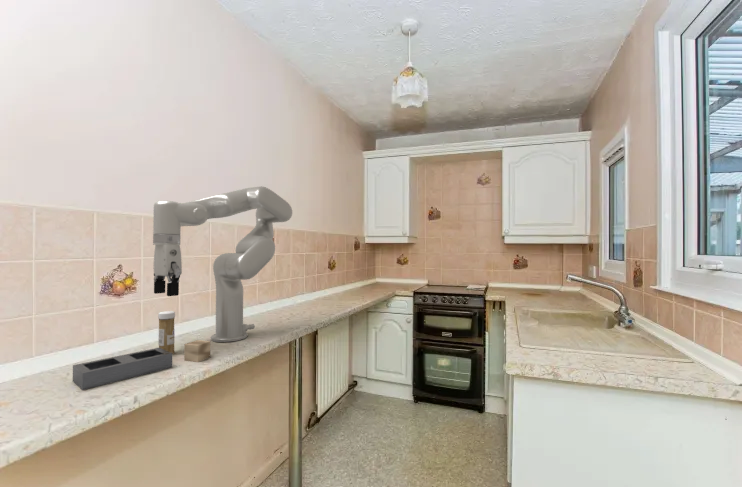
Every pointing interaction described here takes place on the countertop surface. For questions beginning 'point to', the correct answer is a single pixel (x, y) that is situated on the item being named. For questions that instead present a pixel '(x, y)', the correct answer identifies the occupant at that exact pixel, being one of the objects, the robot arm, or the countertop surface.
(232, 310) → the robot arm
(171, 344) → the sprinkles bottle
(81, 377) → the grey compartment tray
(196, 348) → the block
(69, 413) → the countertop surface
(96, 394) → the countertop surface
